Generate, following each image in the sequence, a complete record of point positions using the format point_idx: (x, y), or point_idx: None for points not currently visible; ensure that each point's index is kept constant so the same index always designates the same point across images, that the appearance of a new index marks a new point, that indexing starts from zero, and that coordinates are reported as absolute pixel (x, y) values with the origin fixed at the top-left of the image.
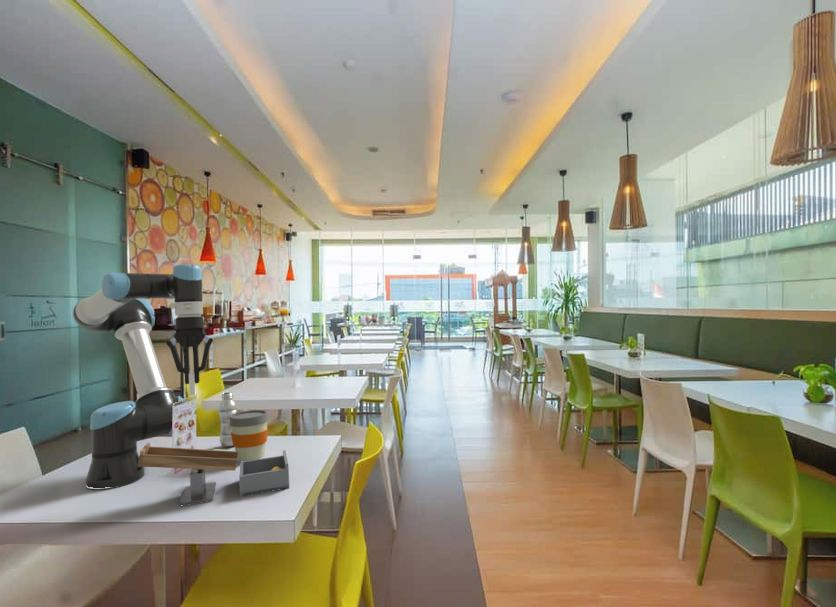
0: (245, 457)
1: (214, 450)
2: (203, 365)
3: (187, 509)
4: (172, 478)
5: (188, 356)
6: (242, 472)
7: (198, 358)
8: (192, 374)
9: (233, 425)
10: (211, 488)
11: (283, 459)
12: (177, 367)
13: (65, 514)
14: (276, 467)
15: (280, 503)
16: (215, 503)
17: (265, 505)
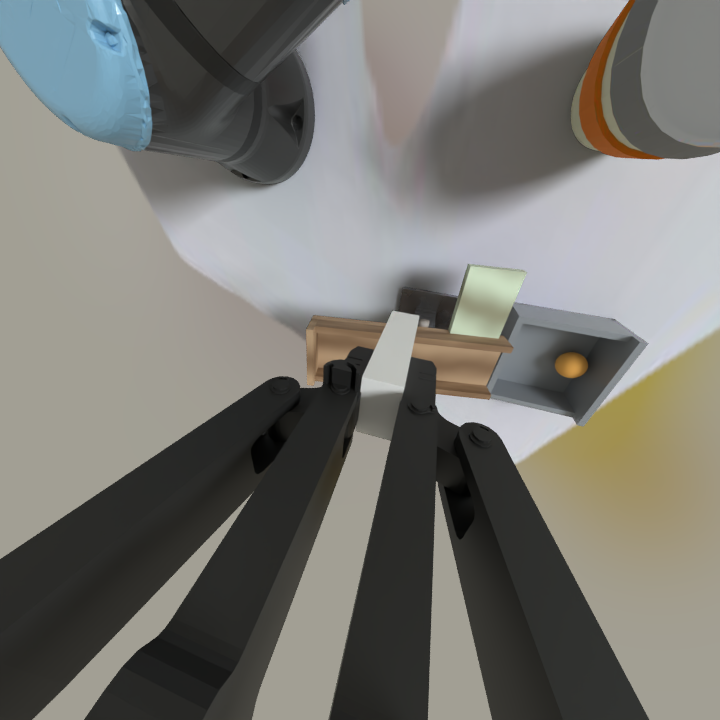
0: (590, 146)
1: (457, 344)
2: (465, 512)
3: None
4: (380, 187)
5: (299, 565)
6: (495, 381)
7: (427, 540)
8: (382, 432)
9: (615, 105)
10: (443, 326)
11: (613, 358)
12: (260, 450)
13: (244, 280)
14: (575, 374)
15: (519, 430)
16: None
17: (499, 423)
